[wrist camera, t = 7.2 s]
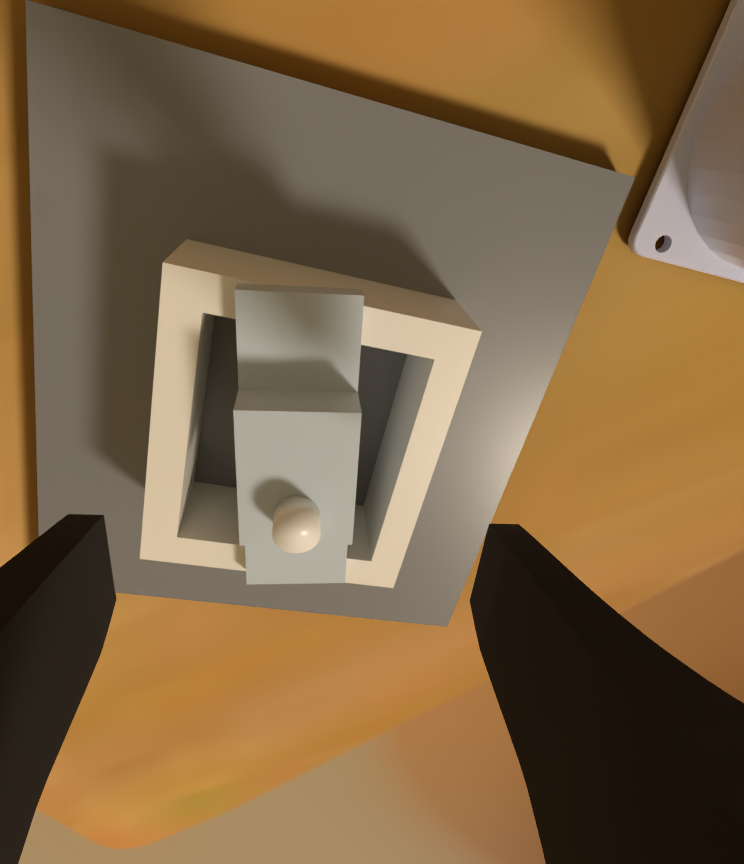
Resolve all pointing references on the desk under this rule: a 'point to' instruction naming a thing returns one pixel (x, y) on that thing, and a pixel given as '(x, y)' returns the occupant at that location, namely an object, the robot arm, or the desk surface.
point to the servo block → (297, 429)
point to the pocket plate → (292, 266)
